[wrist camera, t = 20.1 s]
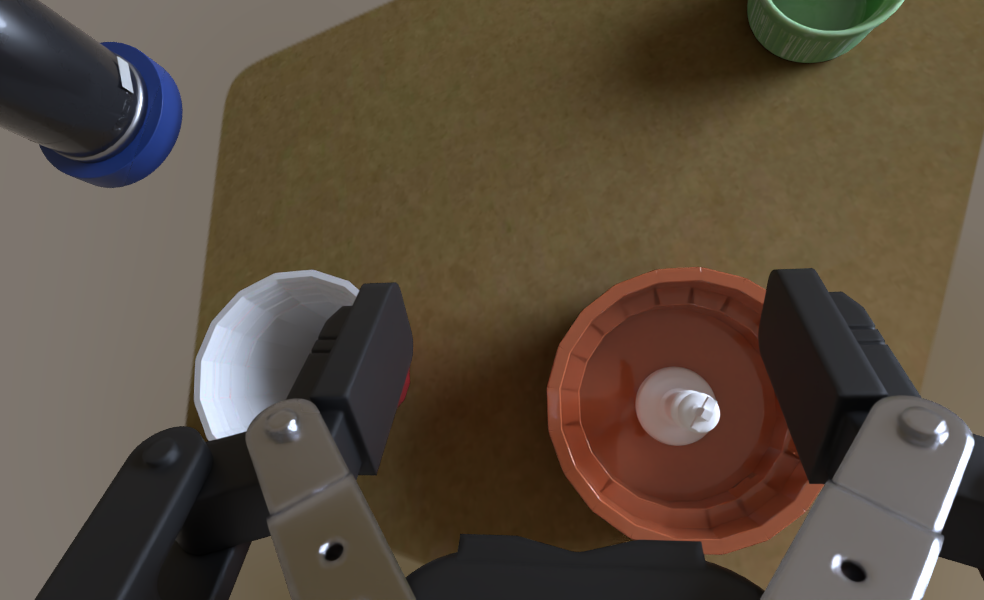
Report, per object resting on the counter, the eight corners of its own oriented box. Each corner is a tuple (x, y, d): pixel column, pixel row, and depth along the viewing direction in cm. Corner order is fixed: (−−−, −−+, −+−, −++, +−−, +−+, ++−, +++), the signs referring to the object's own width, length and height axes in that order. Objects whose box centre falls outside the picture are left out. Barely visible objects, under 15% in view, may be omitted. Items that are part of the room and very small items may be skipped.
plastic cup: (476, 344, 40) (432, 329, 29) (399, 484, 40) (321, 527, 28) (348, 272, 42) (258, 230, 31) (273, 403, 42) (153, 412, 30)
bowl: (524, 483, 39) (514, 499, 33) (587, 257, 40) (587, 238, 35) (770, 564, 36) (803, 597, 30) (829, 318, 37) (870, 308, 32)
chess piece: (730, 393, 37) (783, 397, 27) (690, 461, 37) (729, 490, 27) (659, 352, 38) (685, 342, 28) (620, 418, 38) (633, 431, 28)
